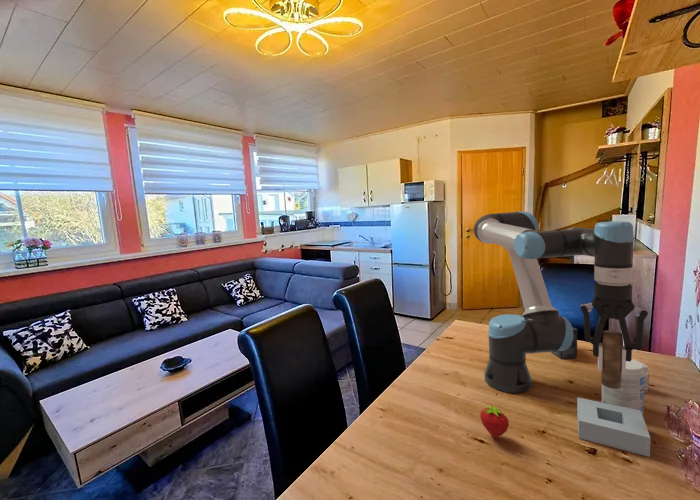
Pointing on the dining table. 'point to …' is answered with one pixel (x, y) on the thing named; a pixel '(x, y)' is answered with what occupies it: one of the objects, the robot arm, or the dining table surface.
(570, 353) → the small box
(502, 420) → the strawberry
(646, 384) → the pill bottle
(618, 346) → the dowel
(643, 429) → the socket block
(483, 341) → the dining table surface
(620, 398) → the supplement tub
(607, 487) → the dining table surface
